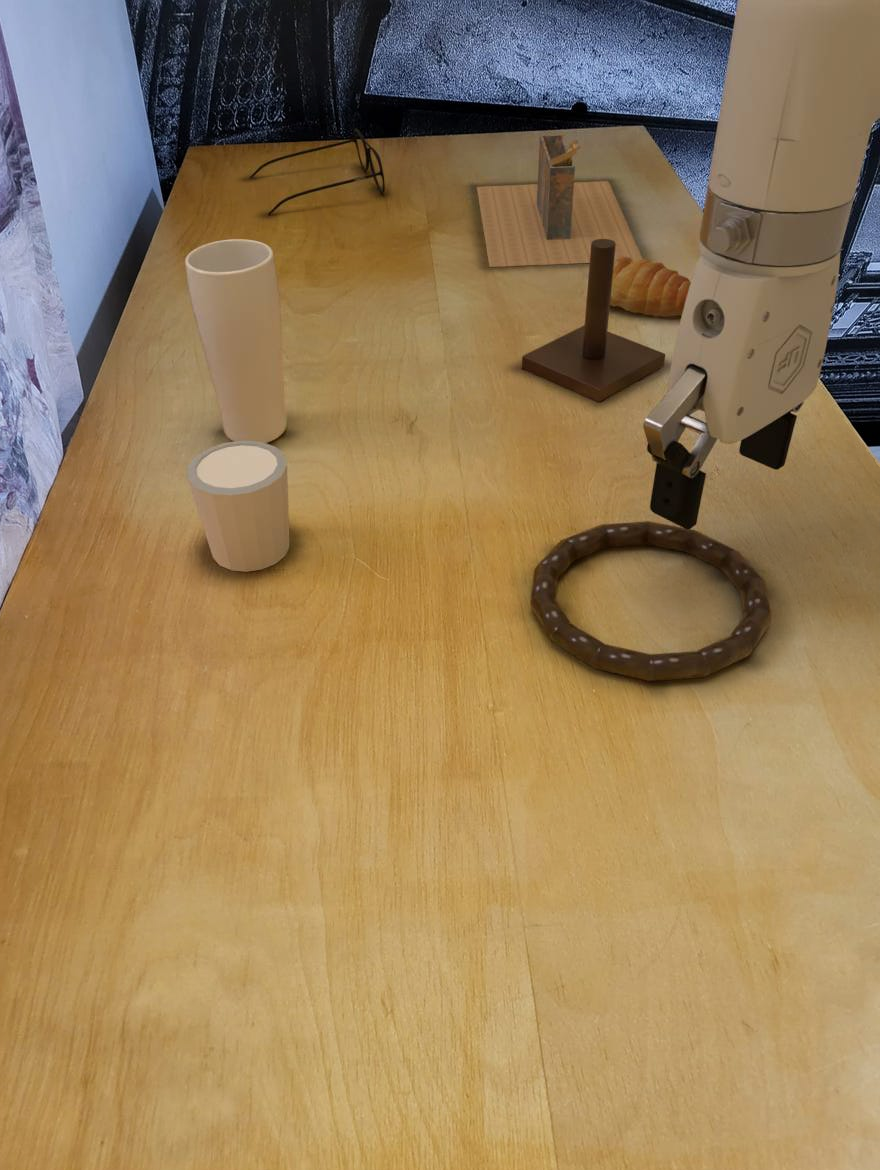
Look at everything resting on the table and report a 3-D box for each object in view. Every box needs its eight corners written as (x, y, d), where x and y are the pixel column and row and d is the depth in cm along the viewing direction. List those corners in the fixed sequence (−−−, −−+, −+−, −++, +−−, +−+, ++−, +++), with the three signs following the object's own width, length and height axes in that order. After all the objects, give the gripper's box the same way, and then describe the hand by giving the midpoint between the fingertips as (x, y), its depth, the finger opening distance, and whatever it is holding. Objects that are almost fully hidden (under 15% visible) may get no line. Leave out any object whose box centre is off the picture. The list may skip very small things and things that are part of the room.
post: (586, 335, 98) (596, 214, 91) (664, 366, 93) (681, 241, 86) (521, 368, 94) (526, 244, 87) (599, 402, 89) (611, 274, 81)
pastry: (710, 302, 103) (716, 264, 100) (680, 328, 99) (686, 290, 96) (623, 282, 107) (627, 245, 104) (592, 307, 103) (595, 269, 100)
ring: (626, 510, 77) (629, 491, 76) (815, 605, 68) (821, 586, 67) (482, 603, 70) (482, 584, 69) (672, 723, 61) (676, 704, 60)
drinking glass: (203, 449, 86) (169, 271, 76) (232, 408, 91) (203, 236, 81) (281, 456, 84) (256, 276, 74) (306, 414, 89) (286, 240, 79)
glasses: (388, 199, 128) (381, 157, 124) (271, 229, 127) (261, 188, 123) (361, 163, 138) (354, 123, 135) (253, 191, 137) (243, 152, 133)
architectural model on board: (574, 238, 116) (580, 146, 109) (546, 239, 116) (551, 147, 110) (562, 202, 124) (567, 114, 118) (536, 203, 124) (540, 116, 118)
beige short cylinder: (184, 549, 76) (166, 467, 71) (258, 509, 79) (245, 428, 74) (242, 590, 72) (227, 505, 67) (317, 545, 75) (307, 462, 71)
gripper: (739, 290, 50) (685, 570, 62) (917, 200, 59) (840, 461, 70) (617, 249, 55) (587, 518, 66) (799, 170, 63) (745, 421, 74)
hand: (717, 489), depth 68 cm, fingers open, 9 cm apart
